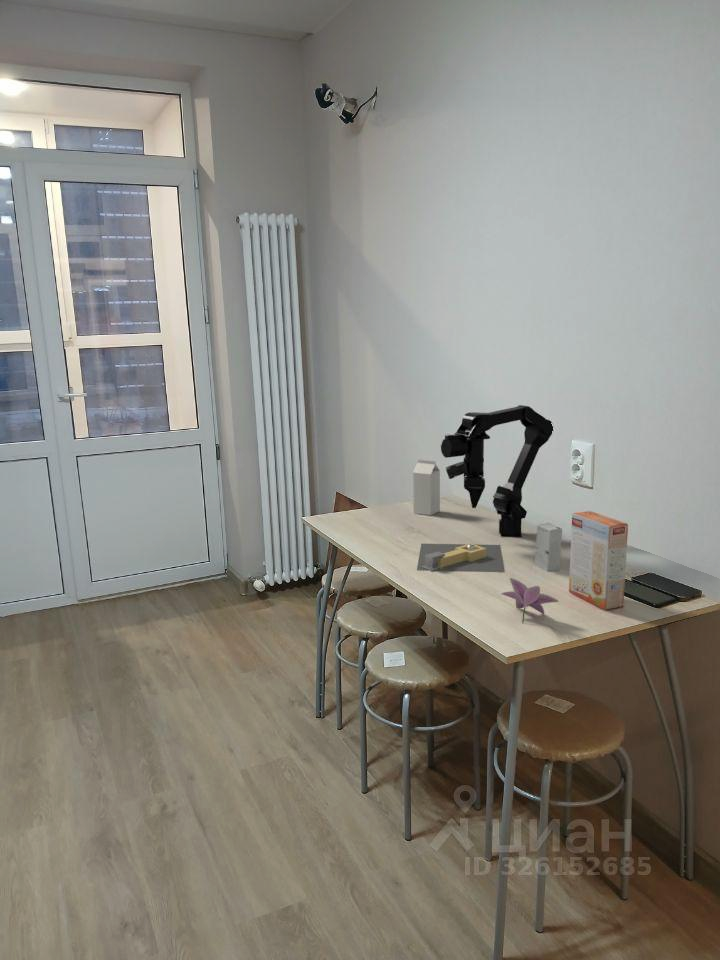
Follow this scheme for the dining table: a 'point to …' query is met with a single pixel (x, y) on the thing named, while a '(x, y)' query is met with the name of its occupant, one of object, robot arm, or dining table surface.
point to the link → (461, 555)
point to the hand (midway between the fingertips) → (473, 504)
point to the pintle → (470, 547)
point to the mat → (486, 564)
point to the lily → (528, 596)
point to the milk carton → (426, 488)
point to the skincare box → (548, 547)
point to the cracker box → (598, 559)
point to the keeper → (432, 561)
